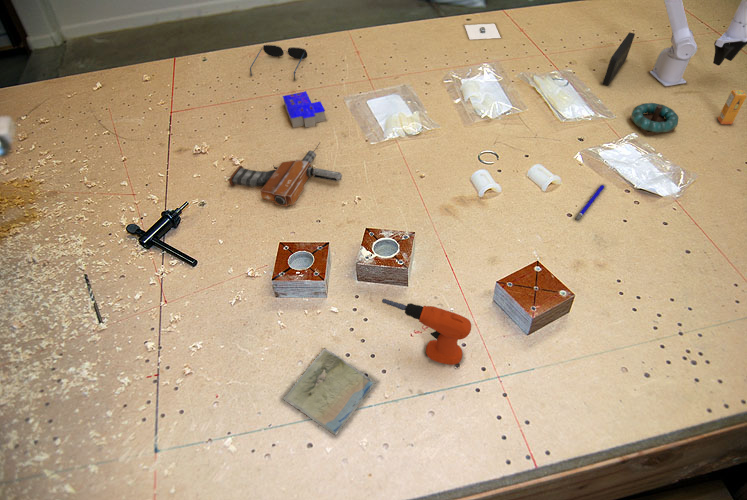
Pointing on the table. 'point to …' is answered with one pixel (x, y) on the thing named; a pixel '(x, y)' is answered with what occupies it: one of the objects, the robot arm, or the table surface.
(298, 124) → the blue grey stepped block
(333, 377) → the topographic map
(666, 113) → the ring
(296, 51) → the sunglasses
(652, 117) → the stand
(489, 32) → the white square panel
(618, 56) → the nameplate
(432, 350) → the toy drill
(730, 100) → the supplement box
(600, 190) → the pencil
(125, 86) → the table surface
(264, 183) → the tool
